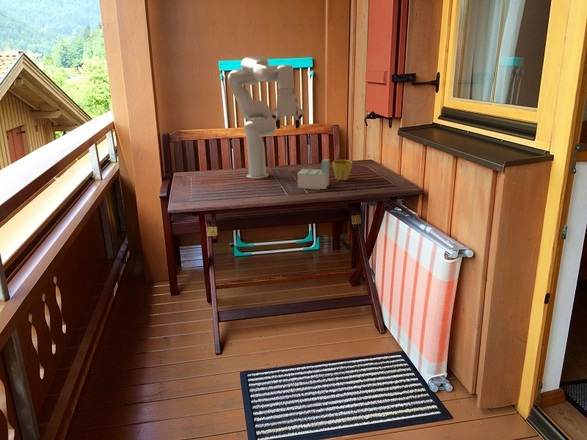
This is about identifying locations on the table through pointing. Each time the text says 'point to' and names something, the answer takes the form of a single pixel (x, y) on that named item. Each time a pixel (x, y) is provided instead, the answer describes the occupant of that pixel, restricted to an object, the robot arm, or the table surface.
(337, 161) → the plant pot
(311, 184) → the tub
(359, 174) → the table surface
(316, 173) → the lid
